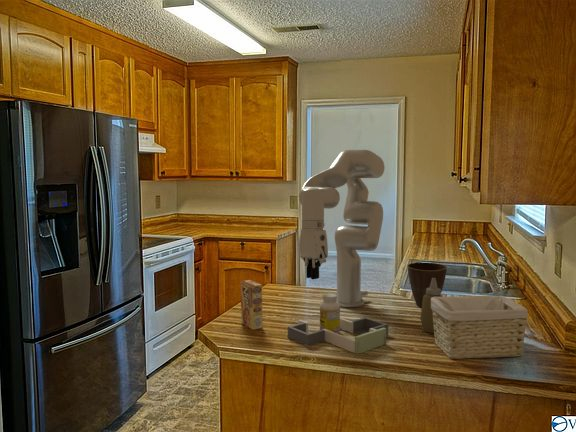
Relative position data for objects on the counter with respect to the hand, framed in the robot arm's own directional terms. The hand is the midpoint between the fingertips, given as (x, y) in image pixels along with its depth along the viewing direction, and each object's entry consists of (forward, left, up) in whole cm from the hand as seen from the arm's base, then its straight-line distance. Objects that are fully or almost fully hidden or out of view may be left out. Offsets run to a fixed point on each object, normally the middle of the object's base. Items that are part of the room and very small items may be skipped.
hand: (312, 277), depth 168 cm
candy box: (+16, -14, -17) cm, 27 cm away
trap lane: (0, +14, -17) cm, 22 cm away
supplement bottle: (0, +9, -17) cm, 19 cm away
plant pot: (-51, +10, -17) cm, 55 cm away
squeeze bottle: (-28, +29, -17) cm, 44 cm away
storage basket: (-24, +47, -17) cm, 56 cm away
